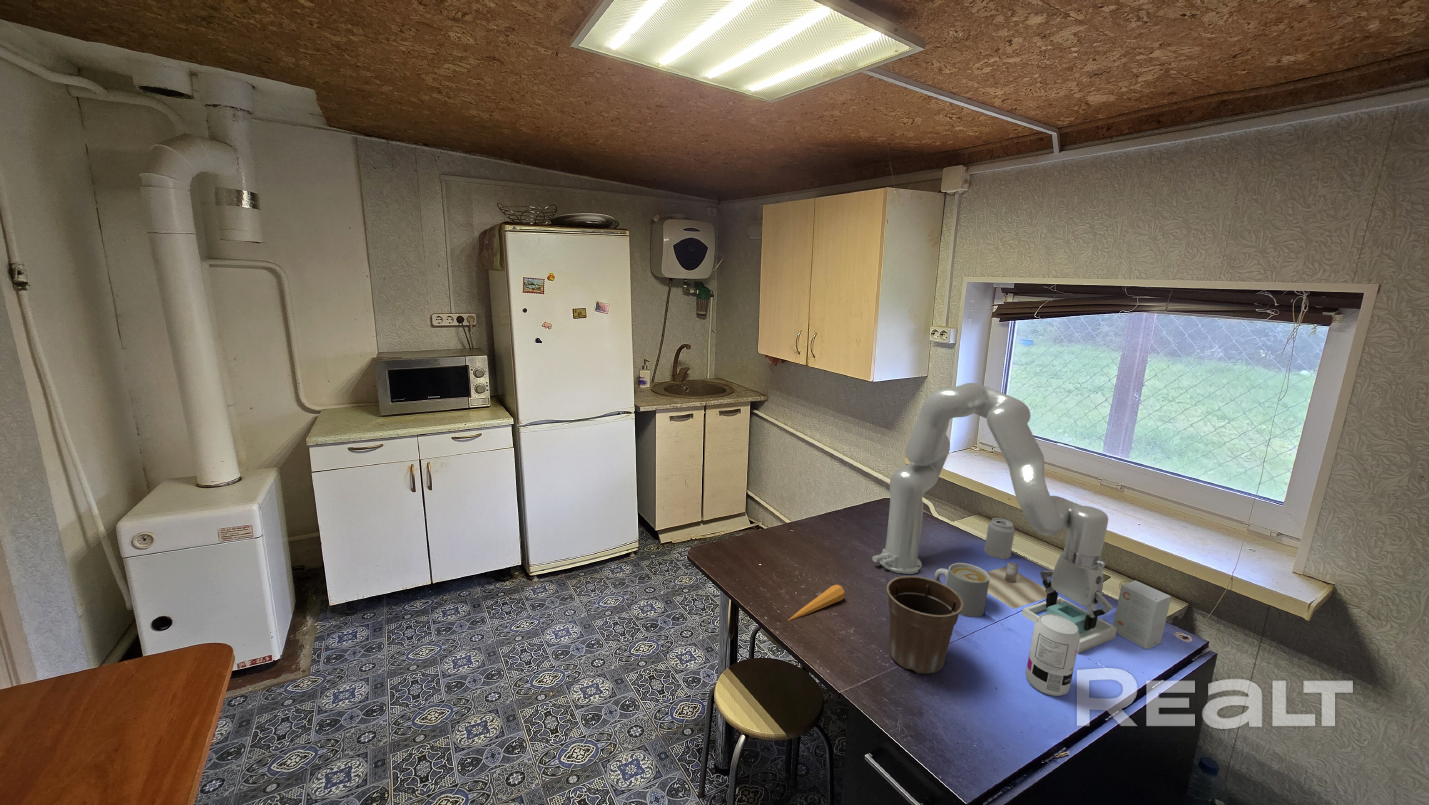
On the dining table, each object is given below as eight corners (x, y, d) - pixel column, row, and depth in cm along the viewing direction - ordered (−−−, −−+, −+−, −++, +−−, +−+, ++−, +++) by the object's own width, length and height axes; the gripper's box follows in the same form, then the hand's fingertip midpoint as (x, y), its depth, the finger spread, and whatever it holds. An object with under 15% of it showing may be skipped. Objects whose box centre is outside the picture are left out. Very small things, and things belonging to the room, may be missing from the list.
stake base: (1012, 612, 145) (1016, 591, 143) (963, 582, 159) (966, 562, 157) (1056, 598, 152) (1060, 578, 151) (1005, 570, 166) (1008, 551, 165)
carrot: (837, 597, 151) (833, 581, 151) (849, 599, 147) (844, 583, 147) (783, 628, 140) (779, 611, 140) (794, 631, 136) (790, 613, 136)
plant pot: (914, 627, 137) (922, 569, 134) (969, 668, 123) (979, 604, 120) (865, 645, 130) (871, 584, 126) (917, 690, 116) (926, 623, 112)
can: (1004, 551, 178) (1009, 517, 175) (1014, 563, 170) (1020, 528, 168) (980, 549, 178) (985, 515, 176) (989, 561, 171) (994, 526, 168)
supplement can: (1017, 671, 123) (1027, 612, 119) (1051, 670, 123) (1063, 611, 120) (1041, 698, 115) (1053, 636, 111) (1077, 697, 115) (1091, 635, 112)
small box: (1161, 643, 134) (1172, 596, 131) (1146, 650, 131) (1158, 602, 128) (1124, 624, 141) (1135, 579, 138) (1110, 630, 138) (1120, 584, 135)
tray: (1077, 653, 129) (1079, 642, 129) (1021, 618, 142) (1023, 608, 141) (1114, 638, 135) (1117, 628, 135) (1057, 606, 148) (1059, 596, 148)
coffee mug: (991, 609, 146) (997, 575, 144) (971, 621, 140) (977, 586, 138) (945, 585, 157) (950, 554, 154) (925, 596, 151) (929, 563, 149)
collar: (1089, 630, 137) (1092, 616, 136) (1068, 638, 133) (1071, 624, 133) (1062, 614, 143) (1065, 601, 142) (1041, 622, 140) (1043, 608, 139)
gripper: (1128, 570, 128) (1114, 634, 132) (1057, 538, 143) (1046, 596, 147) (1109, 576, 125) (1095, 642, 129) (1038, 543, 140) (1027, 602, 144)
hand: (1068, 617), depth 138 cm, fingers open, 9 cm apart
